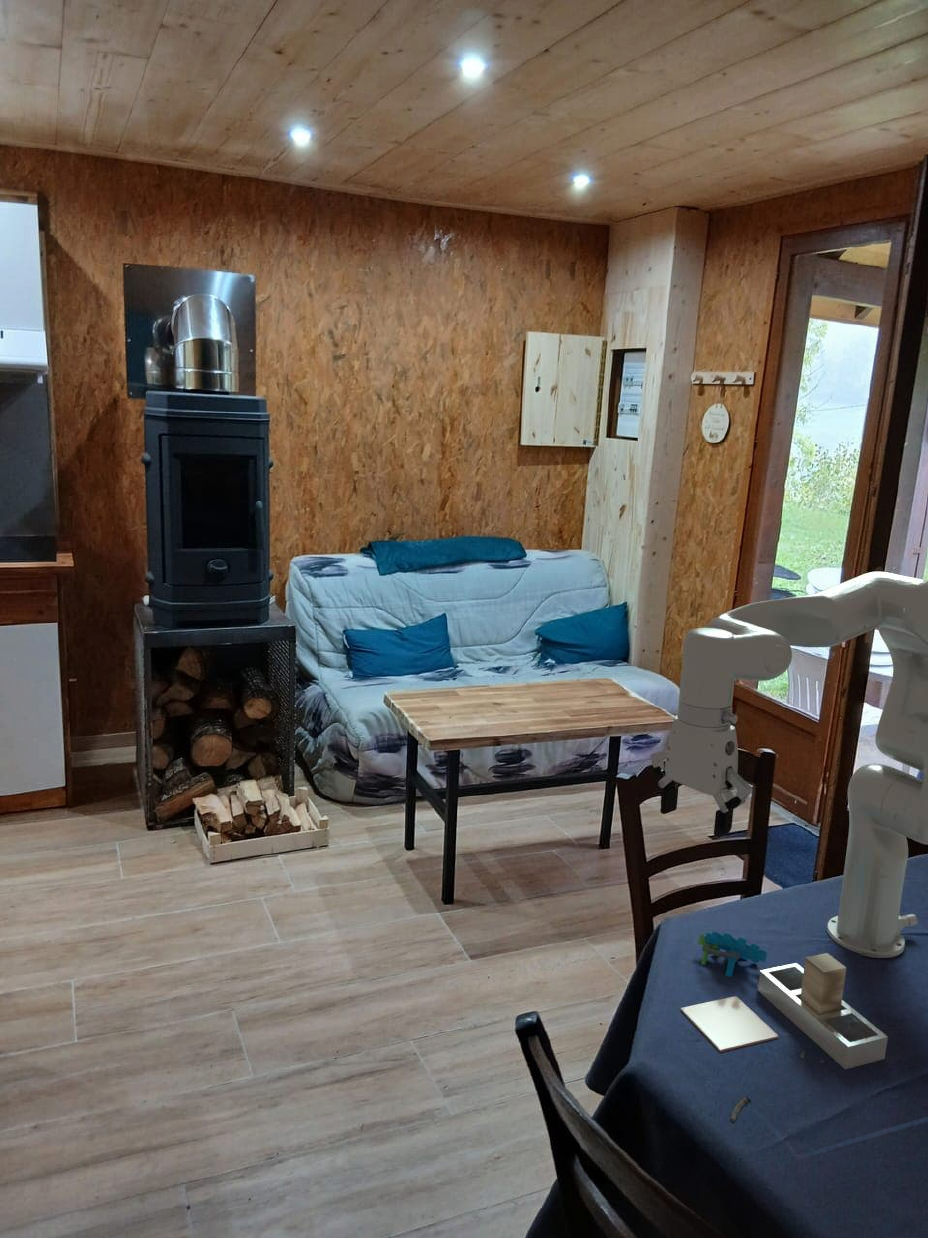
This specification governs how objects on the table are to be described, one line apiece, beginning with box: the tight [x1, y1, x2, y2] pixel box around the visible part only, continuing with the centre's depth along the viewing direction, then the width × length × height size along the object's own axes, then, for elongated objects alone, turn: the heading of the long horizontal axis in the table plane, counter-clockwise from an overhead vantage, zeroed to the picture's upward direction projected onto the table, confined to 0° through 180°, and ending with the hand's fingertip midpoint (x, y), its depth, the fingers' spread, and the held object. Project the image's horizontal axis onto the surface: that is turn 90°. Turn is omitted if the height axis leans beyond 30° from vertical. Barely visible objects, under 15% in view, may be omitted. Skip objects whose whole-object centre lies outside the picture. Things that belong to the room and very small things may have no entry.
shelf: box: [757, 962, 889, 1070], centre depth 139 cm, size 7×19×4 cm, turn 21°
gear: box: [697, 931, 768, 978], centre depth 153 cm, size 11×6×10 cm
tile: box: [680, 995, 779, 1053], centre depth 139 cm, size 10×10×1 cm
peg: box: [800, 952, 847, 1016], centre depth 139 cm, size 4×4×10 cm
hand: (694, 822), depth 140 cm, fingers open, 9 cm apart
